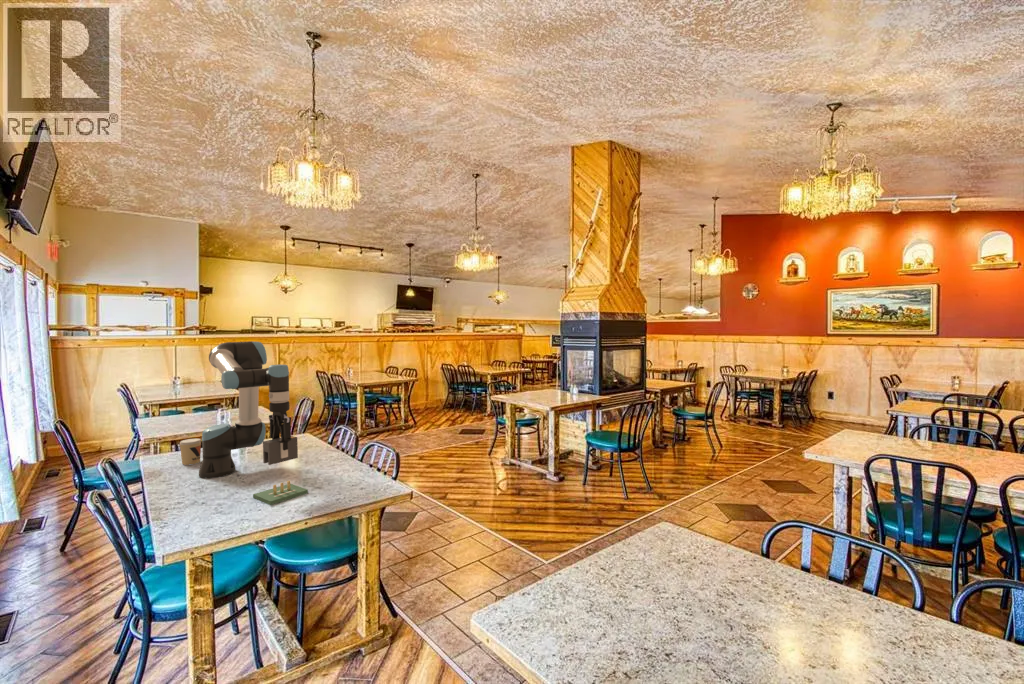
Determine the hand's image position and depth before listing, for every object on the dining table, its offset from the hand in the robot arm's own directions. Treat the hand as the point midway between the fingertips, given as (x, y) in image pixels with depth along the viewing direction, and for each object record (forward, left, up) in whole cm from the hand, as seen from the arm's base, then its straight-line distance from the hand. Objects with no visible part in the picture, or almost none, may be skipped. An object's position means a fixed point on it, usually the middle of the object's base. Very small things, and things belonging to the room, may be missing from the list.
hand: (280, 456), depth 192 cm
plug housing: (0, 0, -2) cm, 2 cm away
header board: (-1, 0, -17) cm, 17 cm away
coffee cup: (-87, -2, -17) cm, 89 cm away
